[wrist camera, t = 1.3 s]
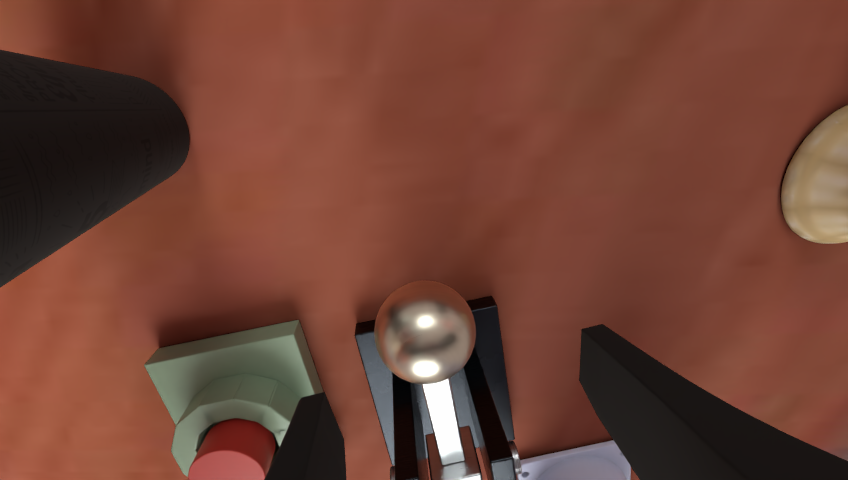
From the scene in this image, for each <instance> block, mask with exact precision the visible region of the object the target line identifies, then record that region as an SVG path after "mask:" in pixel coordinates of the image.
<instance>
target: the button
mask: <svg viewBox="0 0 848 480" xmlns="http://www.w3.org/2000/svg"><path fill="white" fill-rule="evenodd" d="M274 452H275V440H274V437H273V435H272V433H271V432H270V431H269V430H268V429H267V428H265V427H264V426H262V425H261V424H260V423H258V422H255V421H250V420H245V419H240V418H233V419H228V420H224V421H221V422H219V423H217V424H216V425H215V426H213V427H212V428H211V429H210V430H209V432H208V433H207V435H206V437H205V439H204V441H203V443H202V445H201V447H200V449H199V451H198V452H197V454H196V456H195V458H194V460H193V462H192V464H191V466H190V468H189V473H188V479H189V480H264V479H265V477H266V475H267V473H268V471H269V468H270V465H271V461H272V458H273V455H274Z"/></svg>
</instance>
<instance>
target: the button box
mask: <svg viewBox="0 0 848 480" xmlns="http://www.w3.org/2000/svg"><path fill="white" fill-rule="evenodd" d="M144 366H145V368H146V370H147V372H148V373H149V375H150V377H151V379H152V381H153V383H154V385H155V387H156V389H157V390H158V392H159V394H160V396H161V398H162V400H163V402H164V404H165V406H166V408H167V409H168V411H169V413H170V415H171V417H172V419H173V421H174V423H175V425H176V428H175V433H174V438H173V443H172V448H171V452H172V454H173V456H174V458H175V459H176V461H177V463H178V465H179V467H180V469H181V470H182V472H183V474H185V475H186V476H188V473H189V468H190V466H191V464H192V462H193V460H194V458H195V456H196V454H197V452H198V451H199V449H200V447H201V445H202V443H203V441H204V439H205V437H206V435H207V433H208V432H209V430H210V429H211V428H212V427H213V426H215V425H216V424H217V423H219V422H221V421H224V420H228V419H233V418H240V419H245V420H250V421H255V422H258V423H260V424H261V425H262V426H264V427H265V428H267V429H268V430H269V431H270V432H271V433H272V435H273V437H274V440H275V452H274V455H273V458H272V461H271V464H272V462H273V460H274V458H275V456H276V454H277V452H278V449H279V447H280V445H281V443H282V440H283V438H284V436H285V434H286V431H287V429H288V426H289V424H290V422H291V419H292V417H293V414H294V412H295V409H296V407H297V404H298V402H299V400H300V399H301V398H302V397H305V396H309V395H314V394H318V393H322V392H323V389H322V386H321V383H320V380H319V377H318V374H317V371H316V368H315V366H314V363H313V360H312V357H311V354H310V351H309V348H308V345H307V342H306V339H305V336H304V333H303V330H302V327H301V324H300V322H299V320H295V321H290V322H285V323H280V324H275V325H270V326H265V327H260V328H256V329H251V330H246V331H241V332H236V333H231V334H226V335H221V336H217V337H212V338H207V339H202V340H197V341H192V342H187V343H182V344H178V345H173V346H168V347H163V348H159V349H157V351H156V352H155V353H154V354H153V355H152V356H151V358H150V359H149V360H148V361H147V362H146V363H145V365H144ZM270 467H271V465H270ZM269 469H270V468H269Z"/></svg>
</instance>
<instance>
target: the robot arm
mask: <svg viewBox="0 0 848 480" xmlns="http://www.w3.org/2000/svg"><path fill="white" fill-rule="evenodd" d="M579 381H580V383H581V385H582V387H583V389H584V391H585V393H586V395H587V397H588V399H589V401H590V403H591V404H592V406H593V408H594V410H595V412H596V414H597V416H598V417H599V419H600V420H601V422H602V423H603V425H604V426H605V428H606V429H607V431H608V433H609V434H610V436H611V437H612V439H613V440H611V441H607V442H602V443H597V444H593V445H588V446H583V447H579V448H574V449H569V450H565V451H560V452H555V453H551V454H546V455H541V456H537V457H532V458H527V459H523V460H520V462H521V466H522V473H521V474H518V475H517V478H518V480H631V467H632V469H633V470H634V472H635V473H636V475H637V476H638V478H639V479H640V480H848V461H846V460H844V459H841V458H839V457H837V456H835V455H832V454H830V453H828V452H826V451H823V450H821V449H819V448H817V447H814V446H812V445H810V444H808V443H805V442H803V441H801V440H799V439H797V438H795V437H793V436H790V435H788V434H786V433H784V432H782V431H780V430H778V429H776V428H774V427H772V426H770V425H768V424H766V423H764V422H762V421H760V420H758V419H756V418H754V417H752V416H750V415H748V414H746V413H745V412H743V411H741V410H739V409H737V408H735V407H733V406H732V405H730V404H728V403H726V402H724V401H723V400H721V399H719V398H717V397H716V396H714V395H712V394H710V393H709V392H707V391H705V390H704V389H702V388H700V387H698V386H697V385H695V384H693V383H692V382H690V381H688V380H687V379H685V378H684V377H682V376H680V375H679V374H677V373H676V372H674V371H673V370H671V369H669V368H668V367H666V366H665V365H663V364H662V363H660V362H658V361H657V360H655V359H654V358H652V357H651V356H649V355H648V354H646V353H645V352H643V351H642V350H640V349H639V348H637V347H636V346H634V345H633V344H631V343H630V342H628V341H627V340H625V339H624V338H622V337H621V336H619V335H618V334H617V333H615V332H614V331H612V330H611V329H609V328H608V327H606V326H605V325H603V324H601V325H597V326H593V327H589V328H584V329H582V332H581V355H580V377H579ZM264 480H346V464H345V448H344V439H343V436H342V434H341V431H340V429H339V426H338V424H337V422H336V419H335V417H334V414H333V412H332V409H331V407H330V404H329V402H328V400H327V397H326V395H325V392H322V393H318V394H314V395H309V396H305V397H302V398H301V399H300V400H299V402H298V404H297V407H296V409H295V412H294V414H293V417H292V419H291V422H290V424H289V426H288V429H287V431H286V434H285V436H284V438H283V440H282V443H281V445H280V447H279V449H278V452H277V454H276V456H275V458H274V460H273V462H272V464H271V467H270V469H269V471H268V473H267V475H266V477H265V479H264Z"/></svg>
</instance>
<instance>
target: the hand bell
mask: <svg viewBox="0 0 848 480" xmlns="http://www.w3.org/2000/svg"><path fill="white" fill-rule="evenodd" d="M781 206H782V210H783V215H784V217H785V220H786V222H787V224H788V225H789V227H790V229H791V230H792V231H793V232H795V233H796V234H797V235H799V236H800V237H802V238H804V239H806V240H809V241H812V242H816V243H824V244H827V243H842V242H848V105H846V106H844V107H842V108H841V109H839V110H837V111H835V112H834V113H833V114H831V115H830V116H829V117H827V118H826V119H825V120H823V121H822V122H821V123H820V124H819V125H818V126H816V127H815V128H814V129H813V131H812V132H811V133H810V134H809V135H808V136H807V137H806V138H805V140H804V141H803V143H802V144H801V145H800V147H799V148H798V149H797V151H796V153H795V155H794V156H793V158H792V160H791V162H790V164H789V166H788V168H787V171H786V174H785V177H784V180H783V185H782V189H781Z"/></svg>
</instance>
